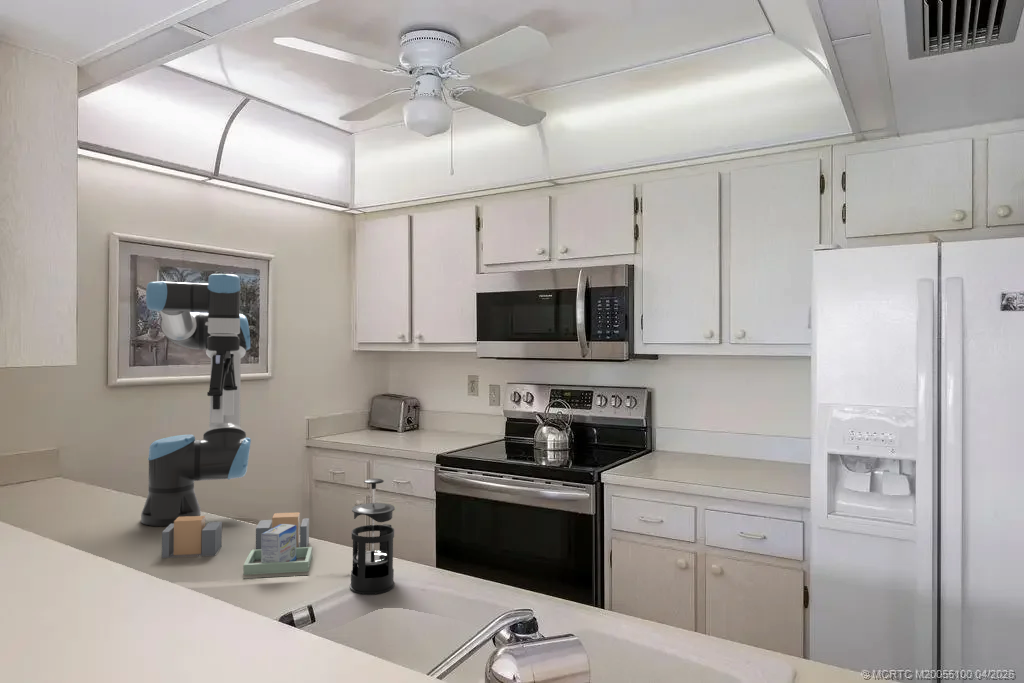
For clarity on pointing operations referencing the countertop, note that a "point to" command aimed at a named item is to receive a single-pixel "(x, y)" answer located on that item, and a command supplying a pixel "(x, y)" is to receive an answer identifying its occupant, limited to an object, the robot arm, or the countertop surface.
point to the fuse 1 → (188, 535)
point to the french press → (375, 565)
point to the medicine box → (279, 544)
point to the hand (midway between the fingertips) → (222, 418)
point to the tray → (277, 564)
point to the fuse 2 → (288, 522)
